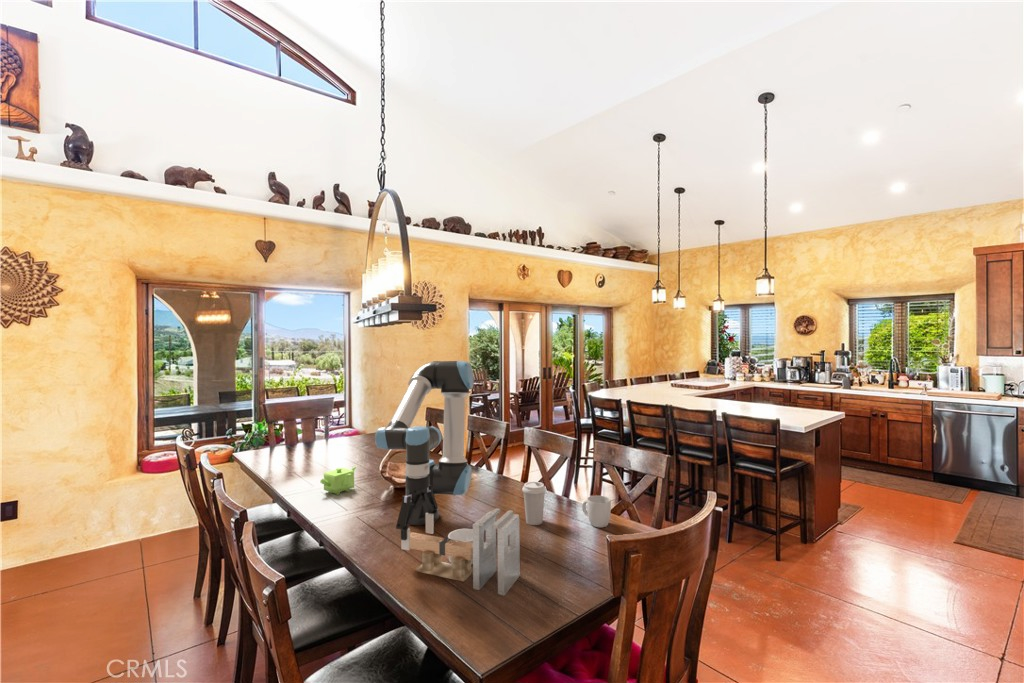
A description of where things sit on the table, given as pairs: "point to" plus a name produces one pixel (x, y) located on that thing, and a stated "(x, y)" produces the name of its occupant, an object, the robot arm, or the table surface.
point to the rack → (445, 567)
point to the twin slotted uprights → (487, 551)
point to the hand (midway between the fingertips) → (418, 540)
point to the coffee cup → (534, 502)
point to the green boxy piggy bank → (338, 480)
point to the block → (441, 546)
